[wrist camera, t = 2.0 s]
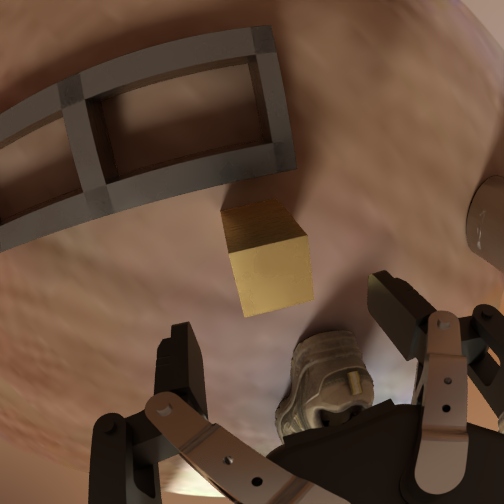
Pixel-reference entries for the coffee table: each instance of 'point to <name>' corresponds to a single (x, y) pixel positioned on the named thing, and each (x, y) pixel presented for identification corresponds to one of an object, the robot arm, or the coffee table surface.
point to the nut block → (267, 257)
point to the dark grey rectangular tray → (162, 174)
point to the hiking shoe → (325, 384)
